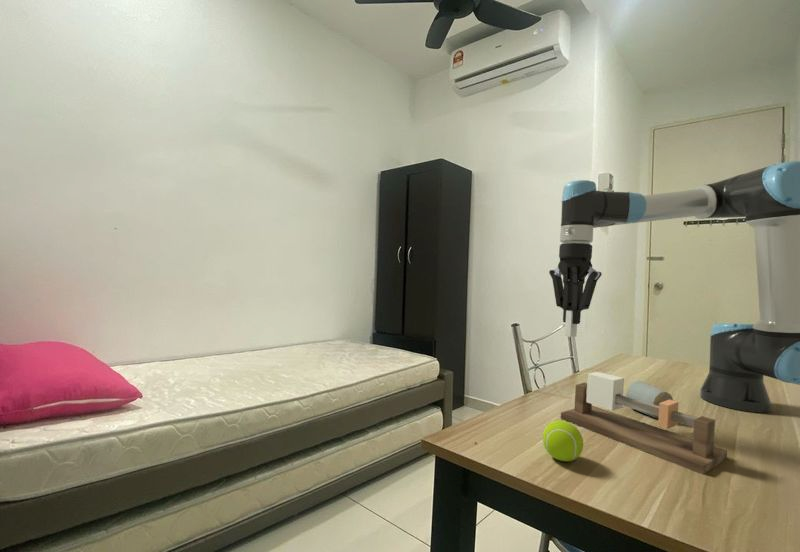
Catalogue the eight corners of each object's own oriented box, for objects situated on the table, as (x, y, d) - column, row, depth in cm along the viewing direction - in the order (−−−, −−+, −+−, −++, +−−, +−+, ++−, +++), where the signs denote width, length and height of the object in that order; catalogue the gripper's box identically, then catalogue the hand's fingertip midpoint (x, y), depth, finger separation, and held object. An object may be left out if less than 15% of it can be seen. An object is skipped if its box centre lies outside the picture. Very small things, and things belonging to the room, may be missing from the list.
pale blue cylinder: (654, 422, 90) (656, 390, 90) (624, 409, 98) (626, 380, 98) (684, 418, 94) (686, 388, 94) (652, 407, 102) (654, 379, 102)
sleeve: (596, 399, 91) (598, 371, 91) (622, 407, 86) (623, 378, 86) (586, 402, 88) (587, 373, 88) (612, 410, 83) (613, 380, 83)
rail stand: (588, 410, 96) (589, 379, 96) (726, 458, 73) (729, 417, 73) (560, 418, 90) (562, 385, 90) (703, 474, 66) (705, 429, 66)
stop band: (668, 422, 78) (669, 399, 78) (677, 424, 77) (678, 401, 77) (658, 426, 76) (659, 403, 76) (667, 429, 74) (668, 405, 74)
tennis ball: (545, 446, 75) (546, 412, 75) (583, 456, 71) (585, 420, 71) (538, 461, 69) (540, 423, 69) (580, 473, 65) (582, 433, 65)
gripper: (544, 243, 98) (539, 332, 98) (592, 241, 87) (587, 342, 87) (561, 245, 102) (556, 331, 102) (609, 243, 91) (604, 340, 91)
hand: (570, 336), depth 95 cm, fingers closed
